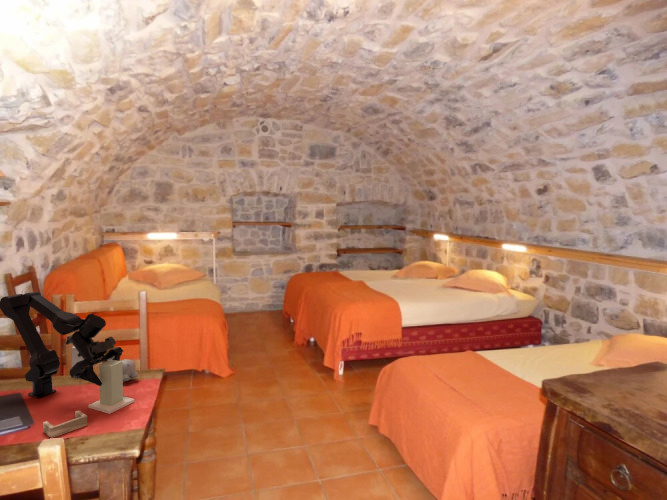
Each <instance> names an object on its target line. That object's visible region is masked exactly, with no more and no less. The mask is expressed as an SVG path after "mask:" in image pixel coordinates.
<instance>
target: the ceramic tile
mask: <svg viewBox="0 0 667 500" xmlns="http://www.w3.org/2000/svg"><path fill="white" fill-rule="evenodd" d="M132 403H135V398H132V397H129V396H128V397H127V396H124V395H123V400H122V401H120V402H118V403H116V404H115V405H113V406H110V405H104V404H100V399H99V400H97V401H95V402H92V403H90V404H88V408H89V409H92V410H95V411H99V412H102V413H105V414H108V415H110V414H112V413H115V412H116V411H118V410H121V409H122V408H125V407H127V406H128V405H130V404H132Z"/></svg>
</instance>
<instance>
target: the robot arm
mask: <svg viewBox="0 0 667 500" xmlns="http://www.w3.org/2000/svg"><path fill="white" fill-rule="evenodd" d="M31 308H32V309H33V310H34V311H36V312H37V313H39V314H40V315H42V316H43V317H44V318H45V319H47V320H48V321H50V322H51V324H52V328H53V329H54V330H55V331H56V332H57V333H58V334H59V335H61V336H65V335H70V334H71V335H70V336H67V337H66V341H65V345H66V346H67V345H71V344H72V346H73V347H75V348H76V349H77V351H78V352H79V354H78V357H81V356H82V357H83V359H84V360H82V361H79V362H77V363H76V364H75V365H74V366H73V367H72V366H71V368H70V369H69V376H70V377H71V378H72V379H74V378H76V379H81V380H84V381H87V382H89V383H92V384H94V385H95V386H98V387H100V386H101V385H102V382H101V381H100V377H99V376H98V375H97V373H96V372H95V369H94V366H96V365H98V364H102V362H103V361H105V362H107V361H109V360H115V361H121V360H120V359H121V356H122V355H123V353H124V350H123V349H122V347H121V346H115V345H116V343H117V342H116V340H115V338H114V337H113V336H108V337H106V338H105V339H104V341H102V342H100V341H94V339H93V338H95V337H97V335H98V334H99V333H100V332H101V331H102V330H103V329H104V328H105V327H106V326H107V325H106V324H107V321H106V320H105V319H104V318H102V317H101V316H99V315H95V313H94V312H93V313H90V314H87V315H86V316H85V318H81V317H80V316H79V315H77V314H75V313H73V312H68V311H65V310H62V309H61V308H59V307H58V306H57V305H56V304H54V302H51V301H50V300H48V299H47V298H46V297H44V296H43V295H42V294H41V293H40V292H39V291H30V292H26V293H18V294H17V293H16V294H12V295H7V296H3V297H1V298H0V311H1V312H2V313H3V315H4V316H5V317H6V318H9V319H11V320H12V321H13V323H14V324H15V327H16V328H17V331H18V332H19V335H20V337H21V338H22V341H23V342H24V344H25V346H26V349H27V351H28V353H29V355H30V356H29V357H30V359H29V364H28V365H29V368H30V369H29V370H28V371H27V372H26V373H25V374H24V379H25V380H26V382H31V387H32V390H31V392H29V393H27V396H31V397H34V398H37V399H40V398H44V397H46V396H49V395H51V394H54V393H56V392H57V390H56V389H53V377H52V376H54V375H57V374H58V371H59V368H60V365H61V362H60V360H61V358H60V357H59V355H58V353H57V351H56V350H55V349H52V350H50V349H48V348H47V347H46V345H45V342H44V341H43V338H42V337H41V335H40V332H38V329H37V328H36V325H35V323H34V321H33V319H32V317H31V315H30V311H31ZM113 345H114V346H113ZM114 347H115V348H114ZM110 348H113V349H111V350H110V351H109V352H108V353H107V354H106V355H104V354H105V353H106V352H107V350H108V349H110Z"/></svg>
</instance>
